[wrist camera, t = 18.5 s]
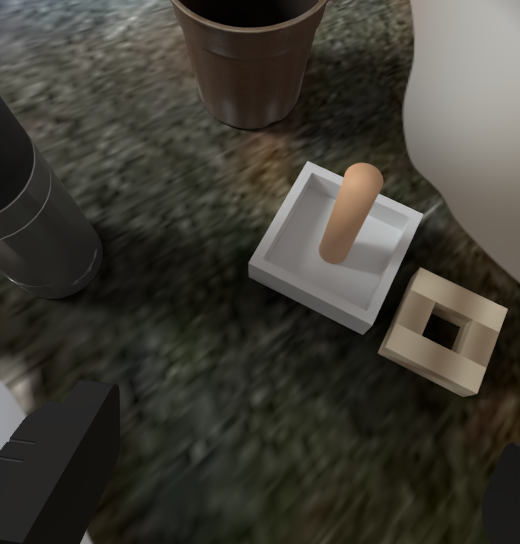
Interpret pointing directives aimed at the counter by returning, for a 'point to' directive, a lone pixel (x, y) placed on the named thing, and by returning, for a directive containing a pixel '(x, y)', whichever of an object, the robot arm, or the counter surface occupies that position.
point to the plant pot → (249, 55)
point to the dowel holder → (431, 356)
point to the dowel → (350, 211)
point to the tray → (324, 276)
